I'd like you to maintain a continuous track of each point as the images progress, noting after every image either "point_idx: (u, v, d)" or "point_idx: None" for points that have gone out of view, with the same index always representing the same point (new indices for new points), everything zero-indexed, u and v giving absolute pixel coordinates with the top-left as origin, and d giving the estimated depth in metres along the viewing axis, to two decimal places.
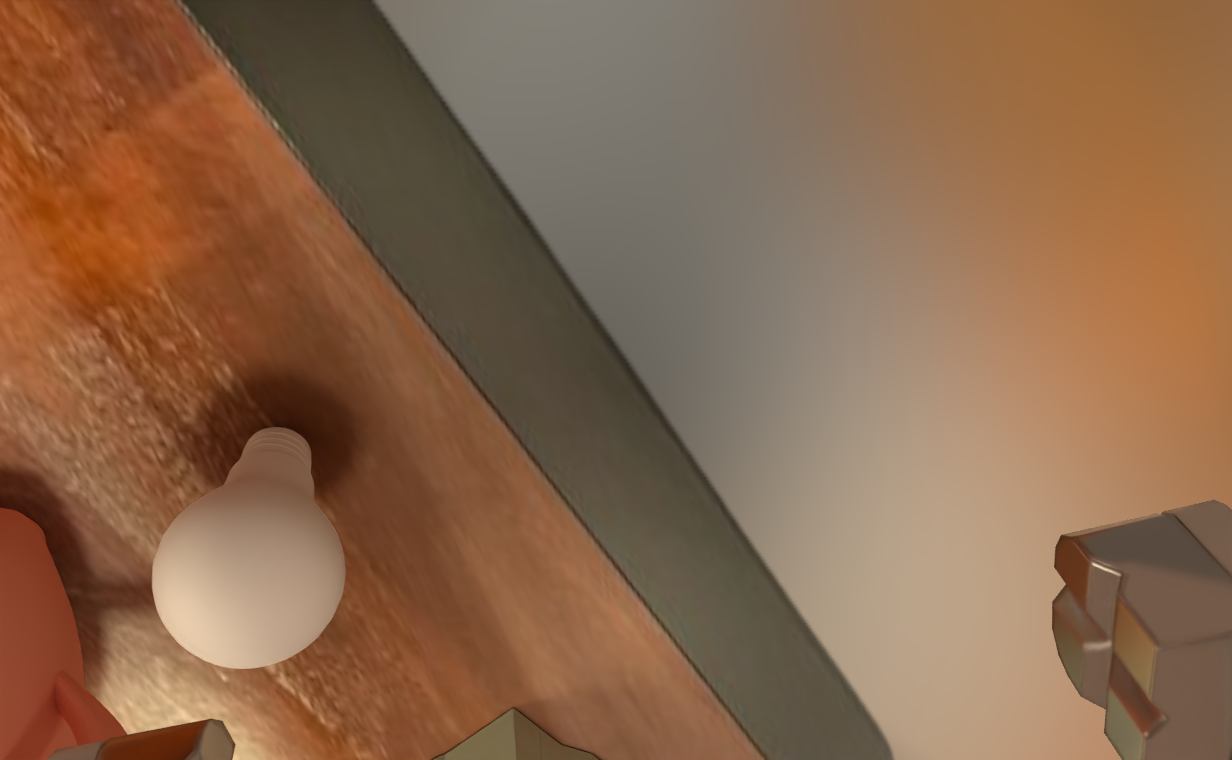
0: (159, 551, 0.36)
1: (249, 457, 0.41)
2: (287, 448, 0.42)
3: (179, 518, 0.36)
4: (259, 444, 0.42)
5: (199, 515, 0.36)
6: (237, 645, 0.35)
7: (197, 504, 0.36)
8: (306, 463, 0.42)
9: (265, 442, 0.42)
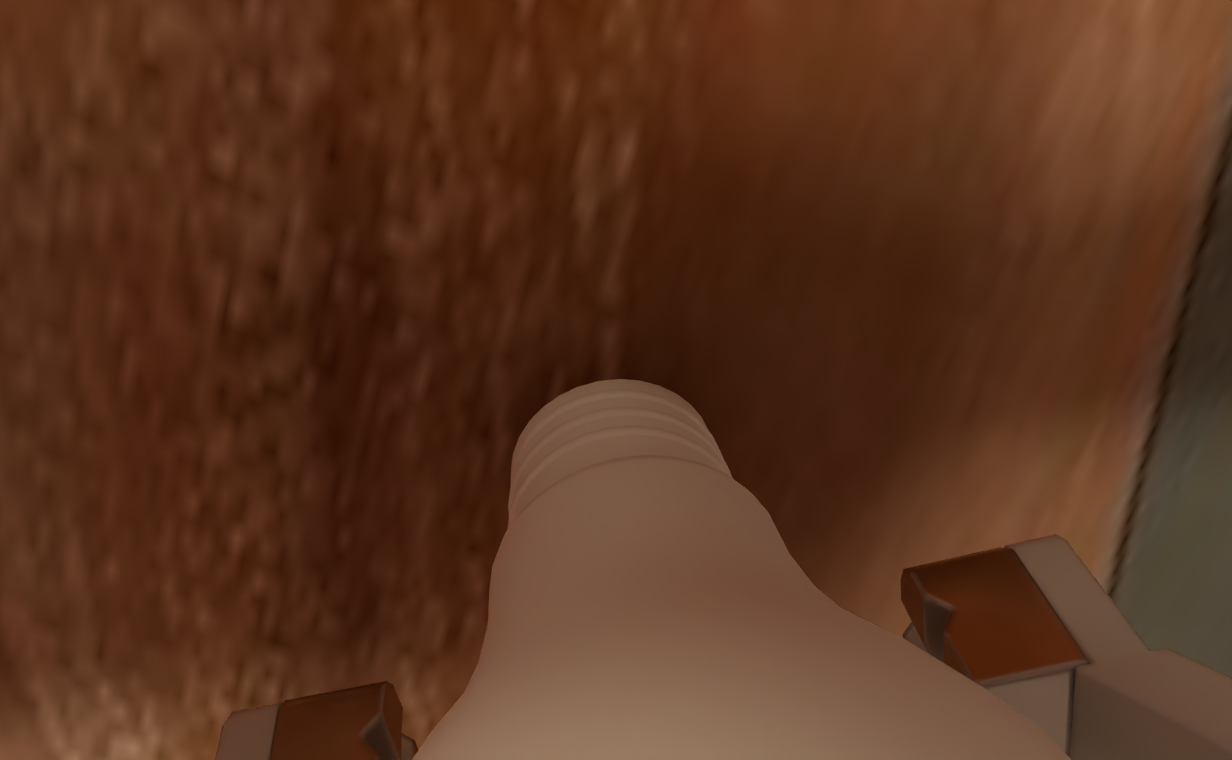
0: None
1: (670, 473, 0.11)
2: None
3: (686, 756, 0.06)
4: (655, 430, 0.12)
5: None
6: None
7: (796, 712, 0.06)
8: None
9: (670, 430, 0.12)
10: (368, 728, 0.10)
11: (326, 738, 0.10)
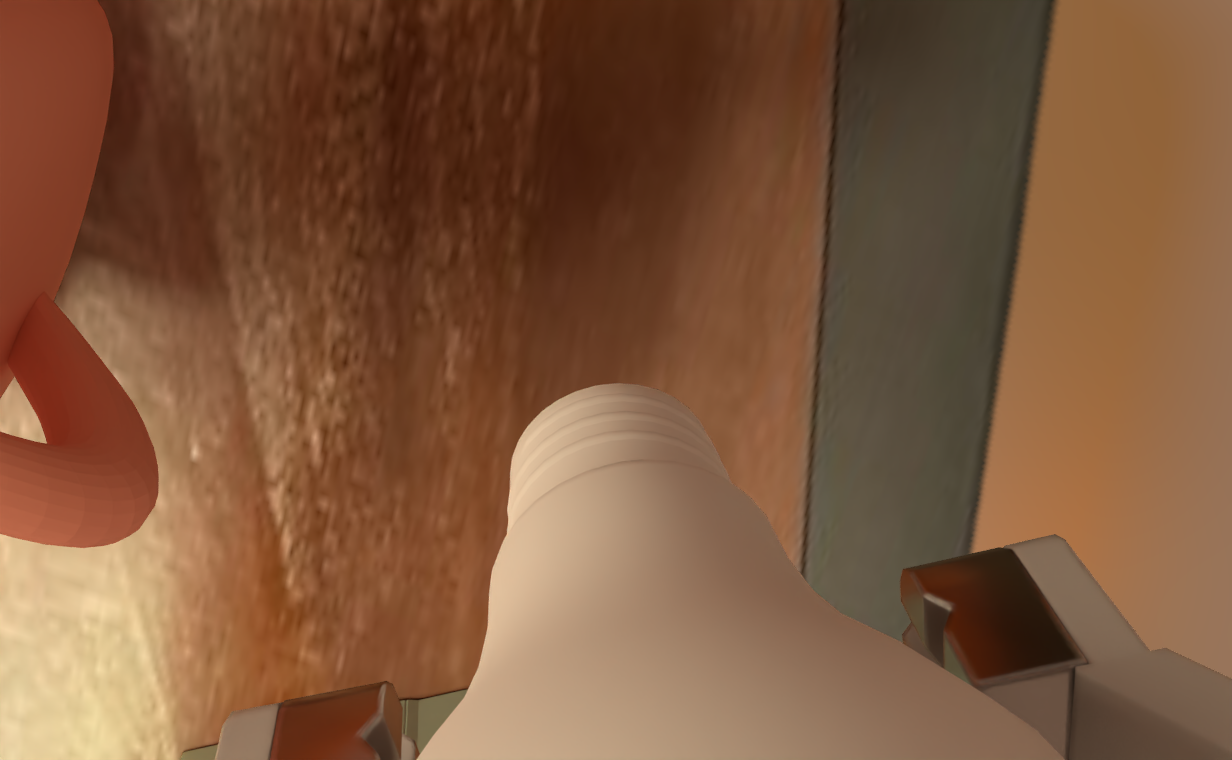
0: None
1: (669, 477, 0.11)
2: None
3: None
4: (654, 435, 0.12)
5: None
6: None
7: (796, 716, 0.06)
8: None
9: (669, 435, 0.12)
10: (368, 728, 0.10)
11: (326, 738, 0.10)
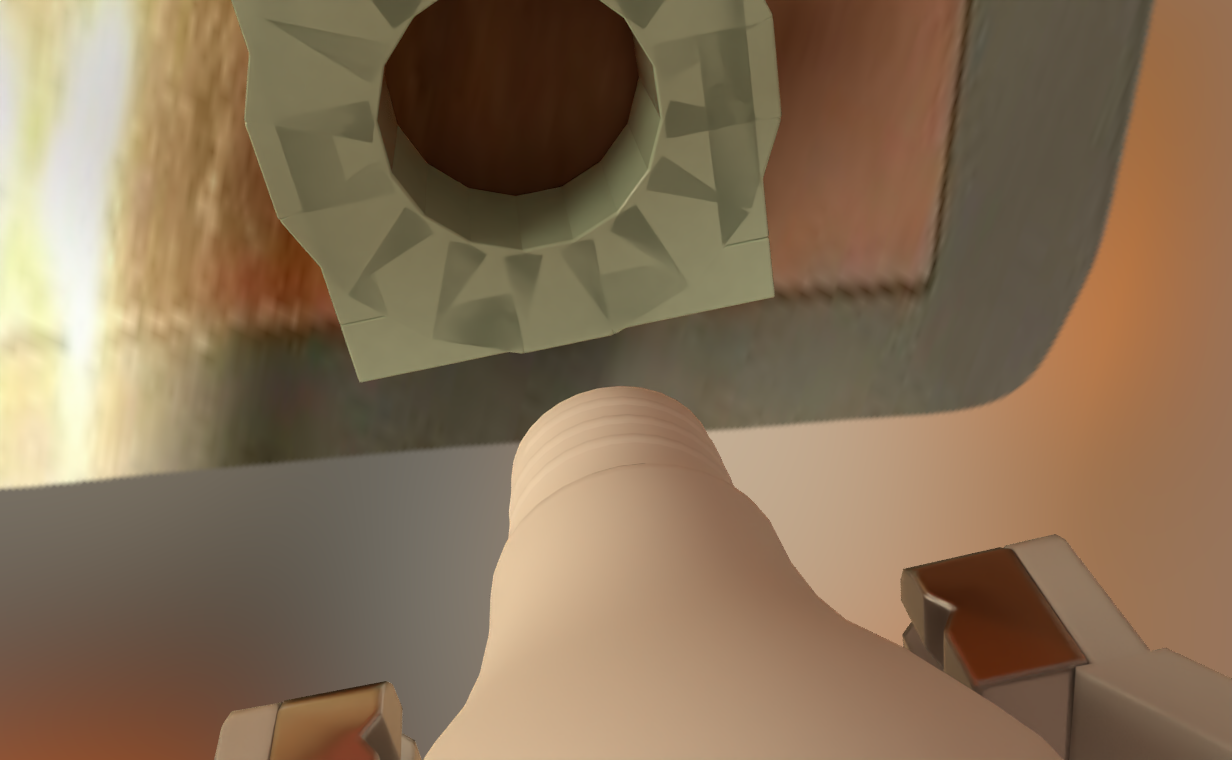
0: None
1: (671, 481, 0.11)
2: None
3: None
4: (655, 438, 0.12)
5: None
6: None
7: (800, 726, 0.06)
8: None
9: (670, 438, 0.12)
10: (368, 728, 0.10)
11: (326, 738, 0.10)
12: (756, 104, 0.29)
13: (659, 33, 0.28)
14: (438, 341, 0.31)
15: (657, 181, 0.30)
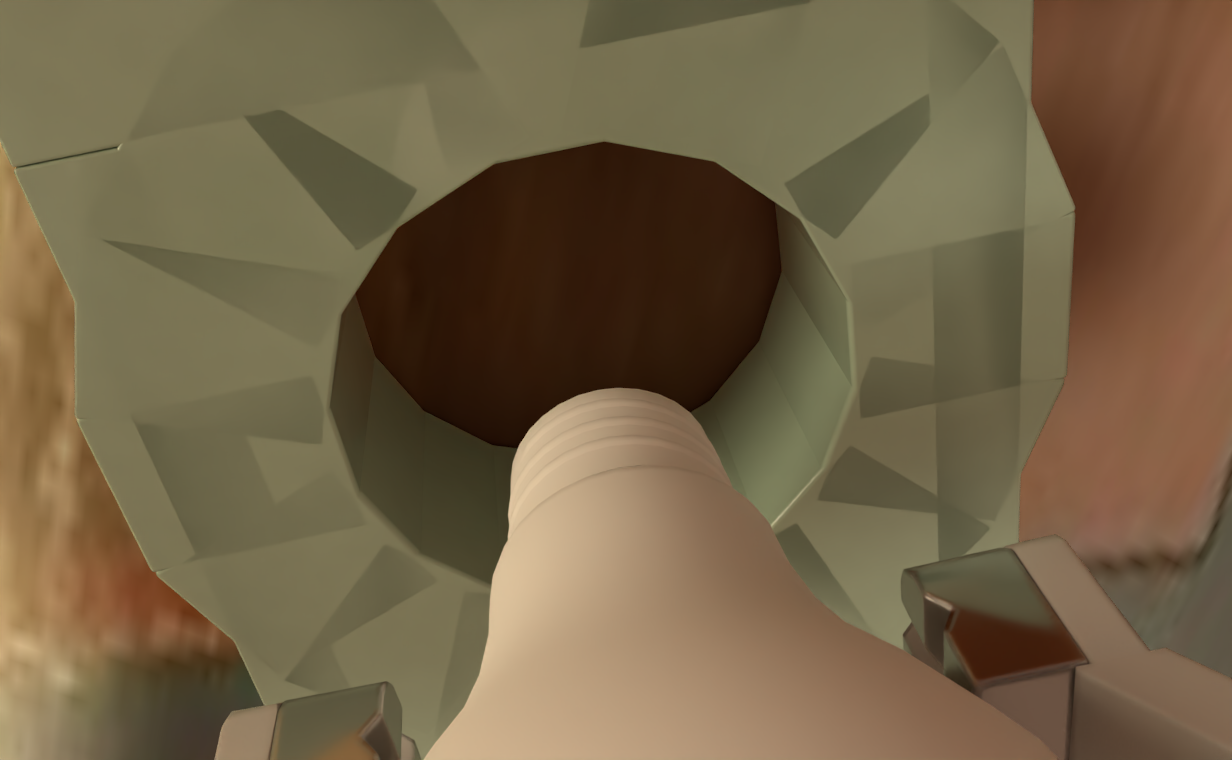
0: None
1: (670, 483, 0.11)
2: None
3: None
4: (655, 440, 0.12)
5: None
6: None
7: (798, 728, 0.06)
8: None
9: (670, 439, 0.12)
10: (368, 728, 0.10)
11: (326, 738, 0.10)
12: (1026, 358, 0.16)
13: (865, 244, 0.15)
14: None
15: (837, 486, 0.17)
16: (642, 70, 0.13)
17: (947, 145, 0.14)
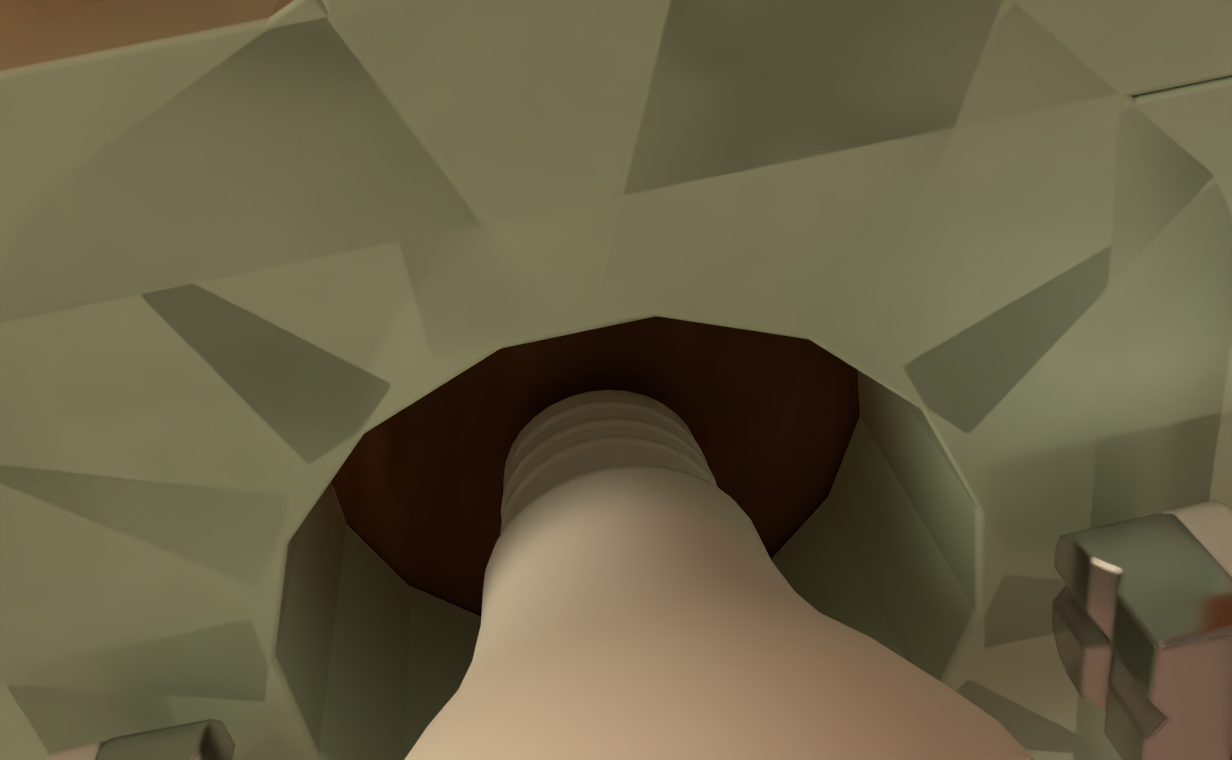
0: None
1: (656, 481, 0.11)
2: None
3: (663, 747, 0.07)
4: (642, 440, 0.13)
5: None
6: None
7: (766, 706, 0.07)
8: None
9: (655, 440, 0.13)
10: None
11: None
12: None
13: (1007, 440, 0.11)
14: None
15: None
16: (712, 222, 0.09)
17: (1129, 312, 0.10)
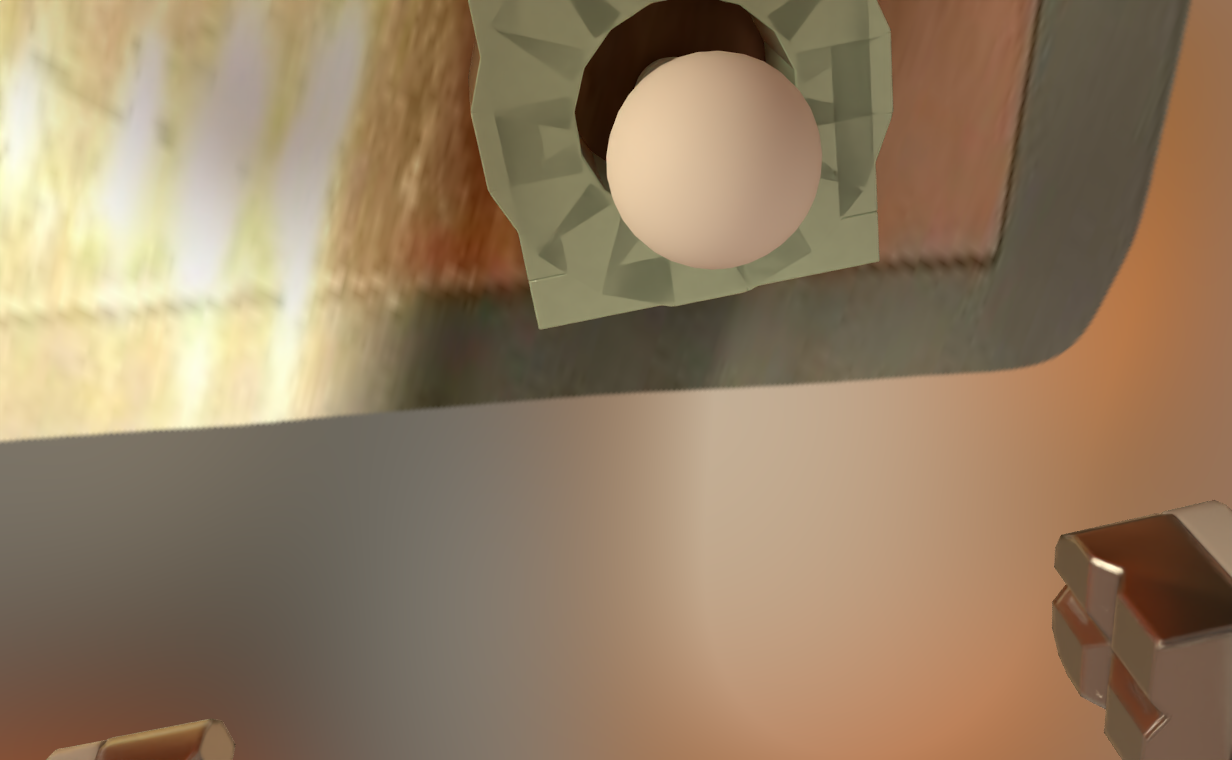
0: (671, 75, 0.30)
1: None
2: None
3: (701, 54, 0.31)
4: None
5: (737, 59, 0.30)
6: (729, 210, 0.30)
7: (723, 51, 0.31)
8: None
9: None
10: None
11: None
12: (874, 101, 0.36)
13: (801, 44, 0.35)
14: (605, 295, 0.38)
15: None
16: None
17: (834, 0, 0.34)
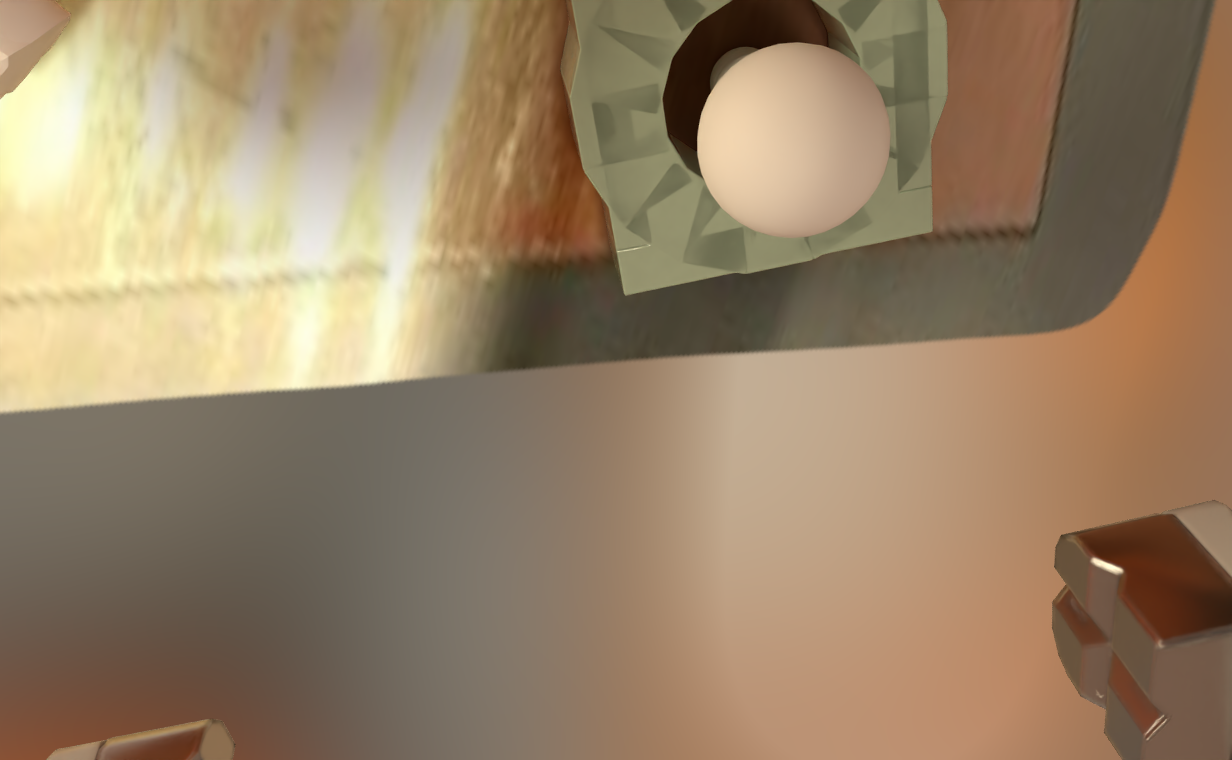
0: (758, 64, 0.34)
1: None
2: None
3: (784, 46, 0.35)
4: None
5: (817, 50, 0.34)
6: (811, 184, 0.34)
7: (804, 43, 0.35)
8: None
9: None
10: None
11: None
12: (930, 86, 0.40)
13: (867, 34, 0.39)
14: (685, 264, 0.42)
15: None
16: None
17: None
